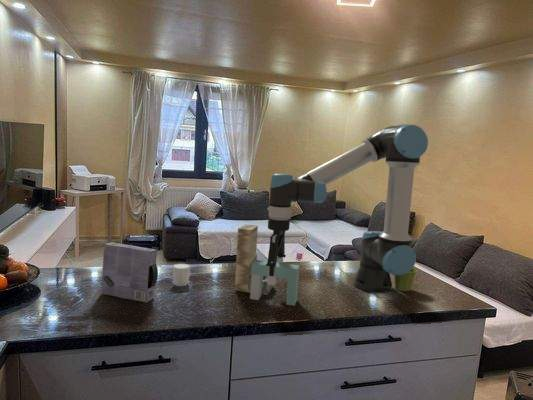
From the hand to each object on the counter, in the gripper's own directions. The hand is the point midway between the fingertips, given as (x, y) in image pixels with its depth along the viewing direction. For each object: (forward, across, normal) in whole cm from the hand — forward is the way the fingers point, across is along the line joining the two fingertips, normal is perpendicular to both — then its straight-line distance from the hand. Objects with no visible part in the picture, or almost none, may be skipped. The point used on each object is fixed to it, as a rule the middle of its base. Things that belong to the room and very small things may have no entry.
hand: (274, 279), depth 138 cm
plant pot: (+8, -32, +47) cm, 58 cm away
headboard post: (+7, -8, -9) cm, 15 cm away
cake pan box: (+8, +17, -47) cm, 50 cm away
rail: (+7, 0, 0) cm, 7 cm away
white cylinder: (+8, -2, -37) cm, 38 cm away
